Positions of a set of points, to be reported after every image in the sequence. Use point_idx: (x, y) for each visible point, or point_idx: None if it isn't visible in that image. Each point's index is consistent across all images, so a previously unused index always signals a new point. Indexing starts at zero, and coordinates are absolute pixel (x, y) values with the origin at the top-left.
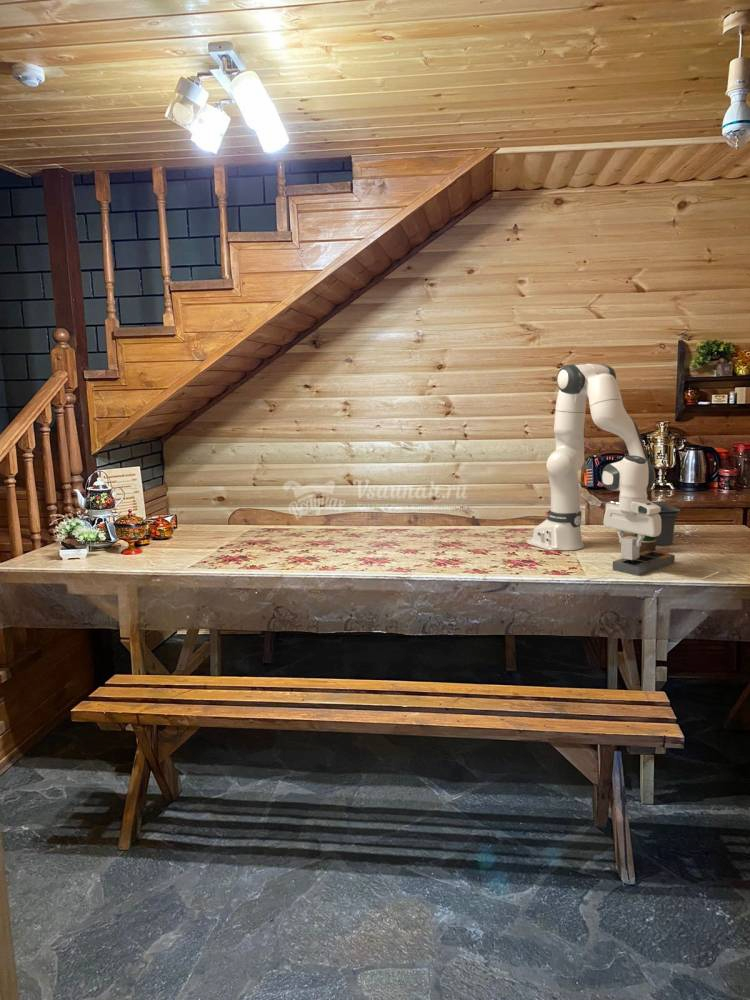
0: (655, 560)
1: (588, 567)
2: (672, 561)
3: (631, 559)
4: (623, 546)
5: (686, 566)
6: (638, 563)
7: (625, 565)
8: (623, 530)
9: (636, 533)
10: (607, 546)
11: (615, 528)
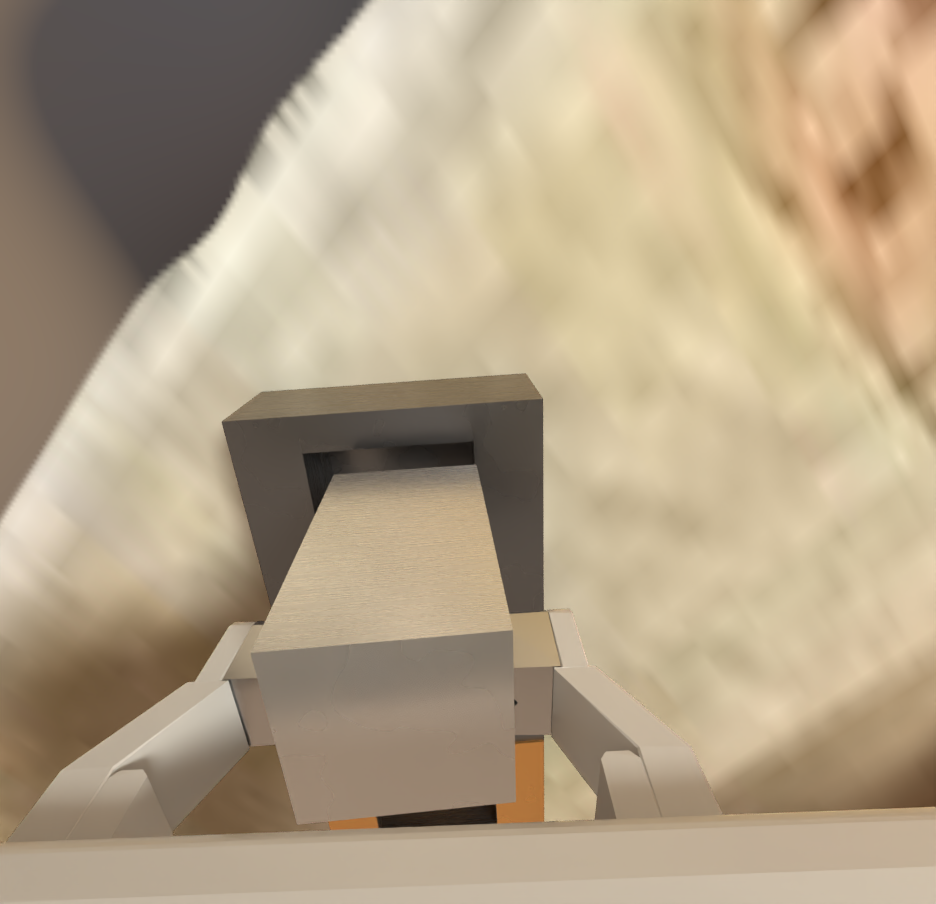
0: None
1: (758, 317)
2: None
3: (341, 476)
4: (450, 541)
5: (281, 796)
6: None
7: (387, 405)
8: (499, 826)
9: (94, 840)
10: (882, 805)
11: (774, 824)
